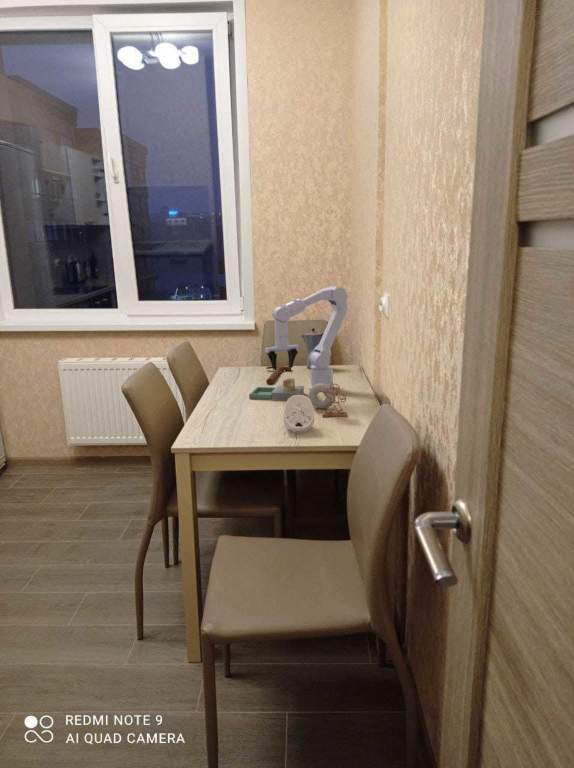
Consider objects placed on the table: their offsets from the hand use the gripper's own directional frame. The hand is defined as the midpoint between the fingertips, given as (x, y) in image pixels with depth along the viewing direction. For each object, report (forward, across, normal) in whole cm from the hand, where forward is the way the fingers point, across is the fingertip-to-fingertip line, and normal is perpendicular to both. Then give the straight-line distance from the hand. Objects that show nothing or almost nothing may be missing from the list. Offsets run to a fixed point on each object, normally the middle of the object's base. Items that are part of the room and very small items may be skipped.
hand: (282, 368), depth 236 cm
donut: (+10, -1, +31) cm, 33 cm away
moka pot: (+11, -35, -34) cm, 50 cm away
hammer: (+11, -8, -27) cm, 30 cm away
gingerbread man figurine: (+10, -1, +41) cm, 42 cm away
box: (+10, +10, +2) cm, 14 cm away
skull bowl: (+10, +17, +47) cm, 51 cm away
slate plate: (+10, +2, +8) cm, 13 cm away
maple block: (+7, +1, +8) cm, 11 cm away
